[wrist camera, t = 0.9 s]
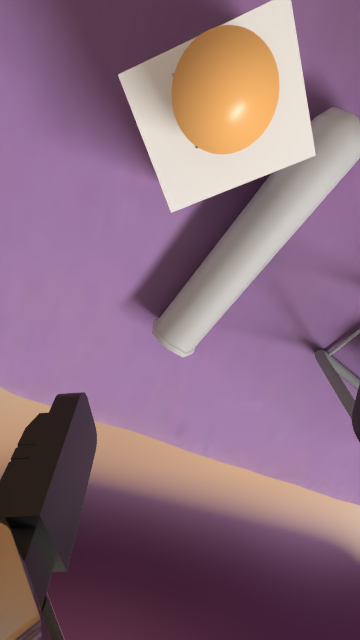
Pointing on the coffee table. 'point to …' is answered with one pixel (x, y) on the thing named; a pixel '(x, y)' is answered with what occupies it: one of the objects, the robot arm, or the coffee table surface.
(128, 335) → the coffee table surface
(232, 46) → the orange rounded lump
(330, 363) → the newton's cradle
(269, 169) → the housing
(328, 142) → the tube
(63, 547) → the robot arm
